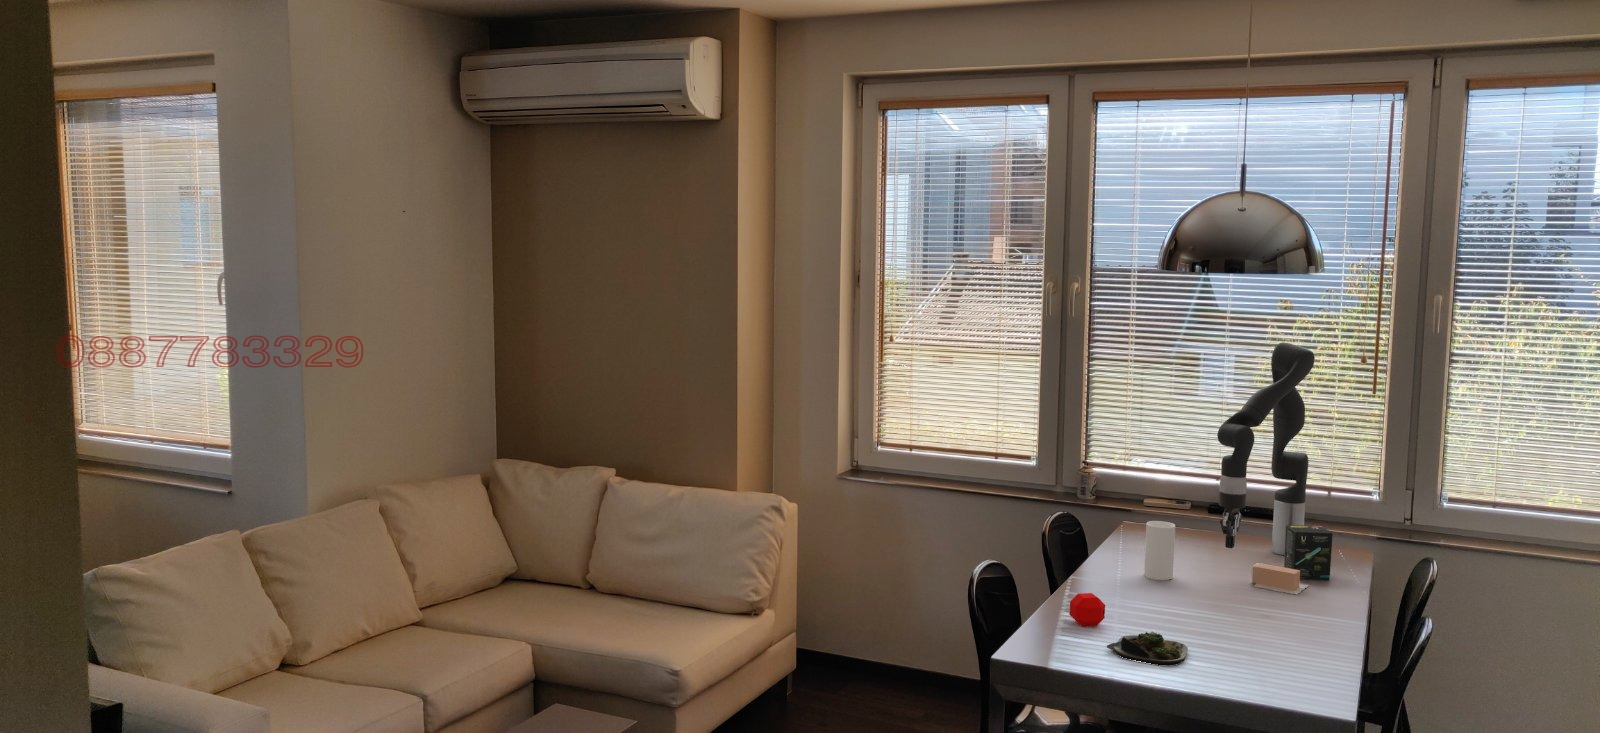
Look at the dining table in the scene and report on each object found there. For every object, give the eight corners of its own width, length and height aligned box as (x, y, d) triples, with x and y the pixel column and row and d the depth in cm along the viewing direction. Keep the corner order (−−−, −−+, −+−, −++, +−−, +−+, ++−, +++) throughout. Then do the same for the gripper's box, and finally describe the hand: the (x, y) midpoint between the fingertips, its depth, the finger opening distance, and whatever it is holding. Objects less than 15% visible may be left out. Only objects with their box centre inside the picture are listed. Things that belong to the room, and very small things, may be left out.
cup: (1142, 578, 338) (1145, 525, 336) (1145, 571, 345) (1147, 519, 344) (1171, 581, 334) (1174, 528, 333) (1173, 574, 342) (1176, 522, 340)
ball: (1107, 628, 291) (1109, 599, 290) (1078, 629, 290) (1079, 600, 289) (1094, 618, 299) (1095, 590, 298) (1066, 619, 298) (1067, 591, 297)
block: (1257, 562, 337) (1300, 570, 329) (1257, 579, 337) (1299, 587, 330) (1252, 566, 333) (1294, 573, 325) (1251, 582, 334) (1293, 590, 326)
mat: (1266, 578, 339) (1266, 577, 339) (1308, 586, 331) (1308, 585, 331) (1253, 586, 331) (1253, 585, 331) (1296, 594, 323) (1296, 593, 323)
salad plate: (1121, 634, 288) (1122, 616, 288) (1194, 646, 279) (1195, 628, 279) (1102, 657, 271) (1103, 638, 271) (1179, 671, 263) (1180, 652, 262)
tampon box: (1319, 572, 347) (1322, 525, 346) (1330, 580, 338) (1333, 532, 337) (1282, 570, 348) (1285, 524, 347) (1292, 579, 339) (1295, 531, 338)
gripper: (1238, 495, 330) (1235, 554, 332) (1252, 489, 340) (1249, 545, 342) (1212, 492, 335) (1209, 549, 337) (1227, 485, 345) (1224, 541, 347)
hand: (1229, 547), depth 339 cm, fingers closed
